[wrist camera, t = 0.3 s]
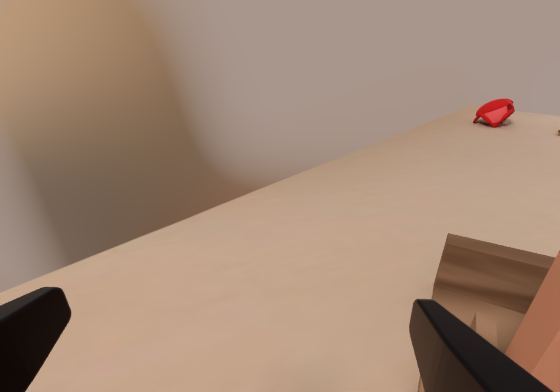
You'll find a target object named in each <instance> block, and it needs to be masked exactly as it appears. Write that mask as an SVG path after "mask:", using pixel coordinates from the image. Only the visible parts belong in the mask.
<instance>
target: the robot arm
mask: <svg viewBox="0 0 560 392" xmlns="http://www.w3.org/2000/svg"><path fill="white" fill-rule="evenodd" d="M70 318H71V309H70V307H69V304H68V302H67V299H66V297H65V294H64V292H63V290H62V289H61V288H58V287H43V288H40V289H37V290H35V291H33V292H30V293H28V294H26V295H24V296H21V297H19V298H17V299H14V300H12V301H10V302H8V303H5V304H3V305H1V306H0V392H25V391H26V390H27V388H28V387H29V385H30V384H31V382H32V381H33V380H34V378H35V376H36V375H37V373H38V372H39V370H40V368H41V367H42V365H43V363H44V362H45V360H46V359H47V357H48V355H49V354H50V352H51V350H52V349H53V347H54V345H55V344H56V342H57V340H58V339H59V337H60V335H61V334H62V332H63V331H64V329H65V327H66V326H67V324H68V322H69V320H70ZM409 331H410V337H411V341H412V345H413V348H414V352H415V356H416V360H417V364H418V368H419V372H420V375H421V379H422V383H423V387H424V391H425V392H553V391H552V390H551V389H550V388H548V387H547V386H546V385H544V384H543V383H542V382H540V381H539V380H538V379H537V378H535V377H534V376H533V375H531V374H530V373H529V372H527V371H526V370H525V369H524V368H522V367H521V366H520V365H518V364H517V363H516V362H514V361H513V360H512V359H511V358H509V357H508V356H507V355H505V354H504V353H503V352H501V351H500V350H499V349H498V348H496V347H495V346H494V345H492V344H491V343H490V342H488V341H487V340H486V339H484V338H483V337H482V336H481V335H479V334H478V333H477V332H475V331H474V330H473V329H471V328H470V327H469V326H468V325H466V324H465V323H464V322H462V321H461V320H460V319H458V318H457V317H456V316H455V315H453V314H452V313H451V312H449V311H448V310H447V309H445V308H444V307H443V306H442V305H440V304H439V303H438V302H436V301H435V300H431V299H416V300H415V301H414V303H413V308H412V313H411V319H410V324H409Z"/></svg>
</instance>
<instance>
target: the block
mask: <svg viewBox="0 0 560 392" xmlns="http://www.w3.org/2000/svg"><path fill="white" fill-rule="evenodd" d="M505 355H507V356H508V357H509V358H511V359H512V360H513V361H514V362H516V363H517V364H518V365H520V366H521V367H522V368H524V369H525V370H526V371H527V372H529V373H530V374H531V375H533V376H534V377H535V378H537V379H538V380H539V381H540V382H542V383H543V384H544V385H546V386H547V387H548V388H550V389H551V390H552V391H553V392H560V251H559V253H558V254H557V256H556V258H555V260H554V262H553V264H552V266H551V268H550V269H549V271H548V273H547V275H546V277H545V279H544V281H543V283H542V284H541V286H540V288H539V290H538V292H537V294H536V296H535V298H534V300H533V301H532V303H531V305H530V307H529V309H528V311H527V313H526V315H525V316H524V318H523V320H522V322H521V324H520V326H519V328H518V330H517V331H516V333H515V335H514V337H513V339H512V341H511V343H510V345H509V346H508V348H507V350H506V352H505Z"/></svg>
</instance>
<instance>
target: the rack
mask: <svg viewBox="0 0 560 392" xmlns="http://www.w3.org/2000/svg"><path fill="white" fill-rule="evenodd" d="M554 260H555V258H554V257H550V256H546V255H541V254H537V253H532V252H528V251H524V250H519V249H515V248H511V247H506V246H502V245H497V244H493V243H489V242H484V241H480V240H476V239H471V238H467V237H462V236H458V235H454V234H449V233H448V235H447V239H446V243H445V246H444V250H443V253H442V257H441V260H440V264H439V268H438V271H437V275H436V278H435V282H434V288H433V295H432V300H435V301H436V302H438V303H439V304H440V305H442V306H443V307H444V308H445V309H447V310H448V311H449V312H451V313H452V314H453V315H455V316H456V317H457V318H458V319H460V320H461V321H462V322H464V323H465V324H466V325H468V326H469V327H470V328H471V329H473V330H474V331H475V332H477V333H478V334H479V335H481V336H482V337H483V338H484V339H486V340H487V341H488V342H490V343H491V344H492V345H494V346H495V347H496V348H498V349H499V350H500V351H501V352H503V353H504V354H505V352H506V350H507V348H508V346H509V345H510V343H511V341H512V339H513V337H514V335H515V333H516V331H517V330H518V328H519V326H520V324H521V322H522V320H523V318H524V316H525V315H526V313H527V311H528V309H529V307H530V305H531V303H532V301H533V300H534V298H535V296H536V294H537V292H538V290H539V288H540V286H541V284H542V283H543V281H544V279H545V277H546V275H547V273H548V271H549V269H550V268H551V266H552V264H553V262H554ZM418 392H425V391H424V387H423V383H422V379H421V375H420V380H419V386H418Z"/></svg>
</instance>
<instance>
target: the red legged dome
mask: <svg viewBox="0 0 560 392" xmlns="http://www.w3.org/2000/svg"><path fill="white" fill-rule="evenodd" d="M512 103H513V101H511V100H509V99H498V100H494V101H491V102H489V103H487V104H485V105H483V106H482V107H481V108H479V110H478V111H477V113H476V116H477V117H476V118H475V119H474V121H473V122H475V121H476V120H478V119H479V118H480V117H482V118H483V119H484V120H485V122H487V123H489V124H491V127H498V124H499V123H502V122H503V121H504V120H506V119H507V118H508V117H509V116H510V115H511V114H512V113H513V112H514V111H515V110H514V106H513V104H512Z"/></svg>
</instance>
